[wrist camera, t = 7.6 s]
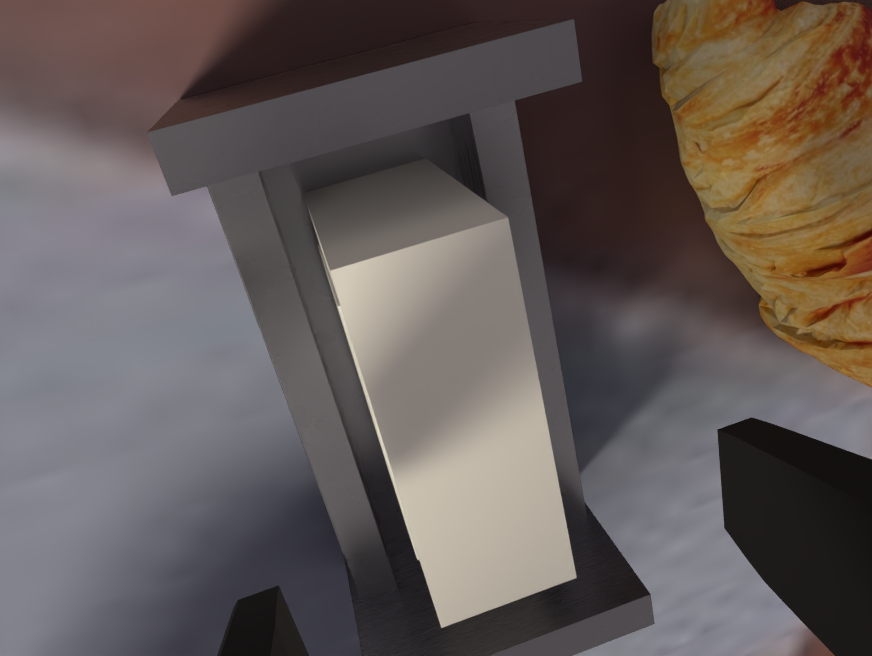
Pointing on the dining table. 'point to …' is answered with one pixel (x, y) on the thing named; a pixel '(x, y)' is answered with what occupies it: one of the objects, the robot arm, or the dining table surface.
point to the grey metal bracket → (321, 324)
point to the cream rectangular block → (448, 381)
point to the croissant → (782, 157)
